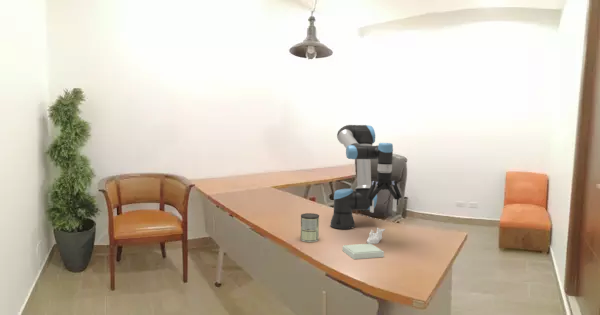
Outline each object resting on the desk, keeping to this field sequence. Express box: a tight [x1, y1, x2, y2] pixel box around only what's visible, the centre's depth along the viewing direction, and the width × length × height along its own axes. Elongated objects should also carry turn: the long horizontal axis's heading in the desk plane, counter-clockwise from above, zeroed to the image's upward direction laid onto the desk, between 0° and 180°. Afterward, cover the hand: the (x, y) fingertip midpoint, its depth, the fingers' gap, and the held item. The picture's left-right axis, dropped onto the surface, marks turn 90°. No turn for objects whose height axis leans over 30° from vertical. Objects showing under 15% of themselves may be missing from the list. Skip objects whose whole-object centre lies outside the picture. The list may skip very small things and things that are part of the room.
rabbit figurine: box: [366, 227, 386, 245], centre depth 220 cm, size 12×8×10 cm, turn 116°
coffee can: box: [300, 212, 320, 243], centre depth 225 cm, size 10×10×14 cm
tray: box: [342, 243, 385, 260], centre depth 201 cm, size 14×16×3 cm
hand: (383, 211), depth 214 cm, fingers open, 13 cm apart
